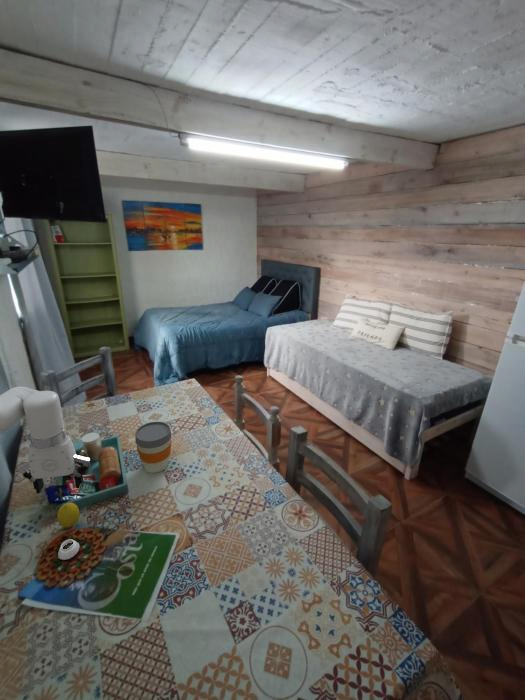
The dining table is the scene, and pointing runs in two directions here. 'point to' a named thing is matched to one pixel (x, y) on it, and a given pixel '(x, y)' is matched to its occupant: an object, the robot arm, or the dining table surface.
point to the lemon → (68, 515)
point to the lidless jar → (68, 550)
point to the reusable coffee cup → (154, 445)
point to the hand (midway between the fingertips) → (60, 487)
